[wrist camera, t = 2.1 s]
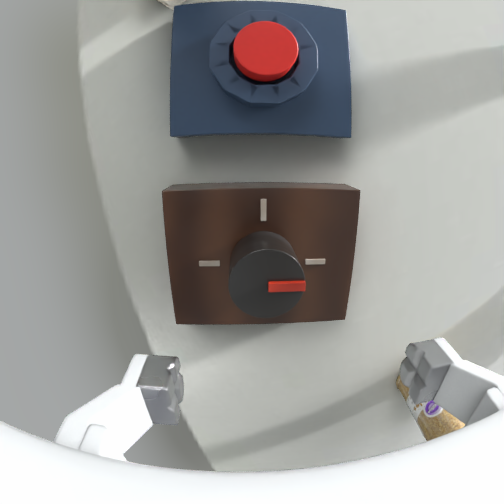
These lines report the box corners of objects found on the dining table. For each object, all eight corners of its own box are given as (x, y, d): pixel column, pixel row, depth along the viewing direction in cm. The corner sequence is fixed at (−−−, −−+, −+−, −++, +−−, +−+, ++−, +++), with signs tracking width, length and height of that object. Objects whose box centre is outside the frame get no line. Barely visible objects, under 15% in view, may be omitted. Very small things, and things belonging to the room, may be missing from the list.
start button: (233, 82, 16) (232, 75, 14) (234, 30, 14) (233, 20, 13) (294, 83, 16) (299, 77, 14) (292, 32, 15) (297, 22, 13)
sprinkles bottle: (417, 354, 28) (475, 441, 15) (432, 368, 29) (485, 446, 17) (387, 381, 29) (433, 473, 17) (405, 392, 30) (448, 474, 18)
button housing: (177, 137, 20) (163, 136, 16) (179, 16, 17) (168, -5, 13) (341, 138, 20) (361, 137, 17) (337, 20, 17) (354, 0, 13)
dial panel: (182, 304, 25) (175, 325, 22) (172, 184, 21) (161, 191, 18) (334, 301, 25) (345, 320, 22) (346, 184, 22) (361, 190, 19)
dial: (231, 292, 21) (229, 321, 17) (229, 231, 19) (226, 251, 16) (293, 290, 21) (303, 319, 18) (296, 230, 20) (309, 250, 16)
